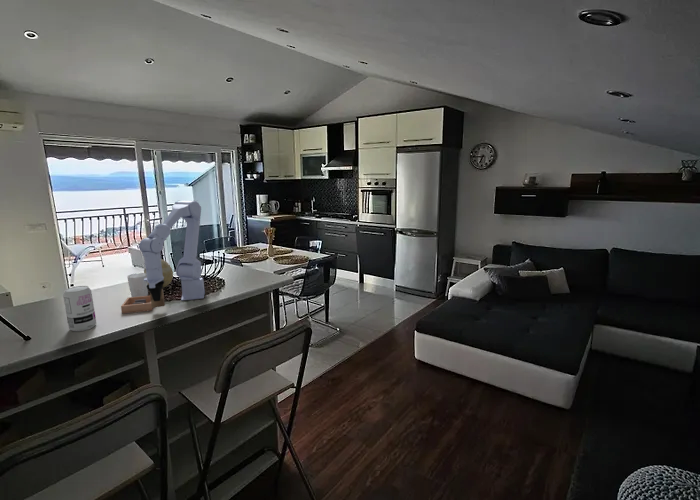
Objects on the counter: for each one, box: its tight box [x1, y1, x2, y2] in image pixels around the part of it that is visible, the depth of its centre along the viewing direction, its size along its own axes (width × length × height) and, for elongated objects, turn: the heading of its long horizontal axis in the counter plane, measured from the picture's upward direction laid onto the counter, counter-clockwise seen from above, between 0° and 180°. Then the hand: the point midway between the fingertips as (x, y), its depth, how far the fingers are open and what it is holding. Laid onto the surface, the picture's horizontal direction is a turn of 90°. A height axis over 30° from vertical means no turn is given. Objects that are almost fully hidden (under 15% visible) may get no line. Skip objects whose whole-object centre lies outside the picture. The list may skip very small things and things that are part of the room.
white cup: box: [126, 272, 149, 297], centre depth 165 cm, size 8×8×10 cm
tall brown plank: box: [149, 288, 166, 309], centre depth 145 cm, size 4×2×7 cm, turn 108°
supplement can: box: [62, 285, 97, 332], centre depth 131 cm, size 8×8×15 cm
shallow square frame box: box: [120, 295, 155, 314], centre depth 151 cm, size 11×11×3 cm
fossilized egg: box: [143, 258, 174, 289], centre depth 176 cm, size 13×13×15 cm
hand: (157, 299), depth 146 cm, fingers closed on tall brown plank, 2 cm apart
